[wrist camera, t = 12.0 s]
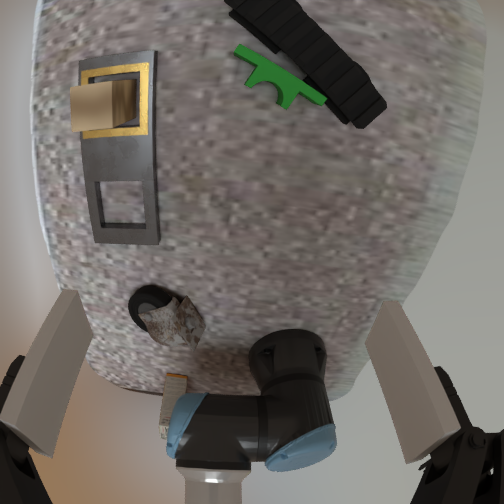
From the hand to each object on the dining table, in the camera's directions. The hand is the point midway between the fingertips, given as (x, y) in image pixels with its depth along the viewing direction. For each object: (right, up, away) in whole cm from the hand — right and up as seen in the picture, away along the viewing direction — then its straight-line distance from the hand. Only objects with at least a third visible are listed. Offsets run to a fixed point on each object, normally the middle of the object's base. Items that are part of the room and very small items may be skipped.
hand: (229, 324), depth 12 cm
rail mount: (+7, +27, +18) cm, 33 cm away
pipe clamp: (+3, +23, +20) cm, 31 cm away
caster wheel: (-14, -6, +38) cm, 41 cm away
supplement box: (-16, -26, +50) cm, 59 cm away
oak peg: (-16, +22, +19) cm, 33 cm away
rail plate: (-16, +16, +23) cm, 32 cm away
